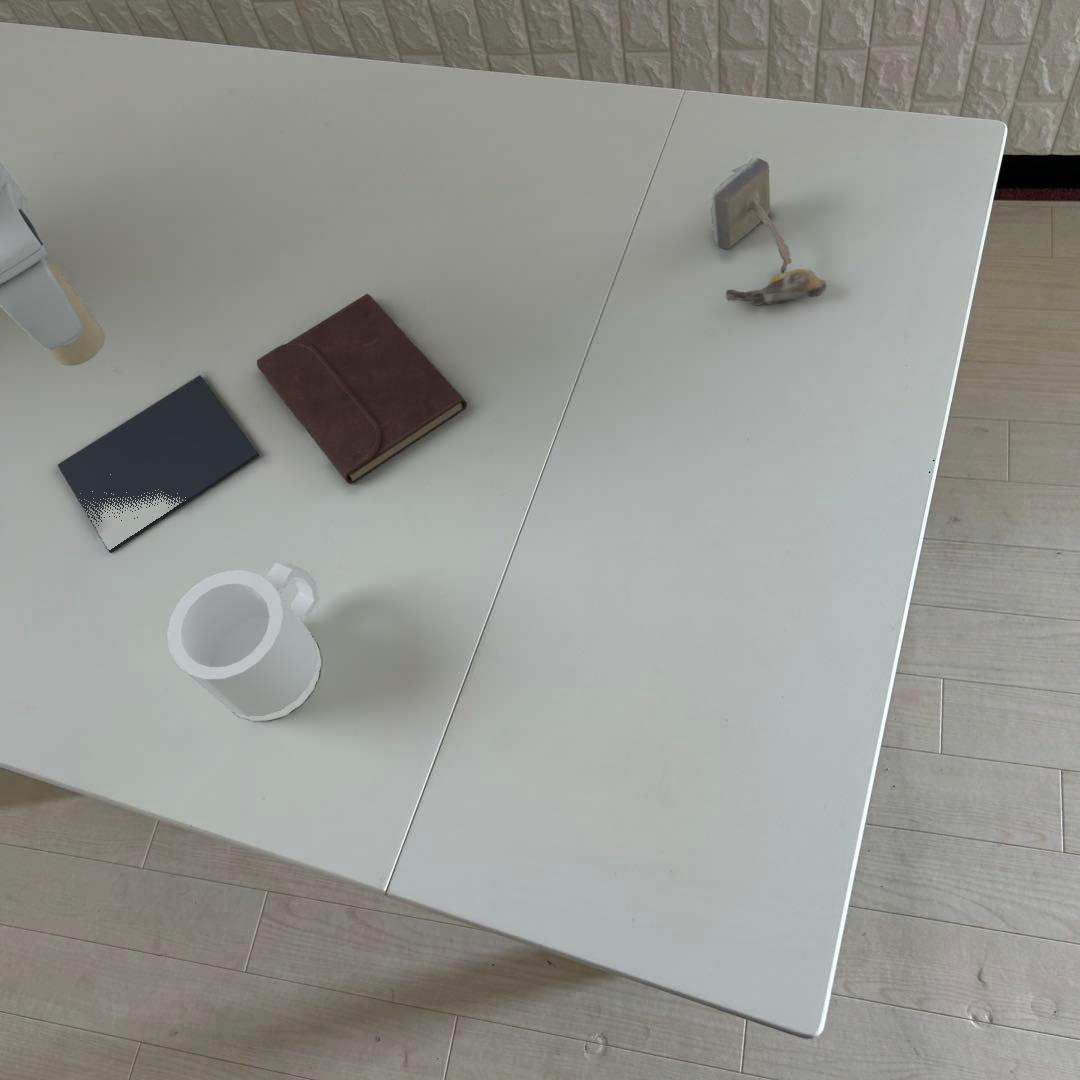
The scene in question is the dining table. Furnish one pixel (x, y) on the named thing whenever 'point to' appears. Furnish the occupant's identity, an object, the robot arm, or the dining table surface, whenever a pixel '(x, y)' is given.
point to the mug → (247, 638)
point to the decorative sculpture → (738, 213)
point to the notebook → (360, 387)
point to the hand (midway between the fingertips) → (56, 317)
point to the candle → (91, 333)
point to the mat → (161, 454)
